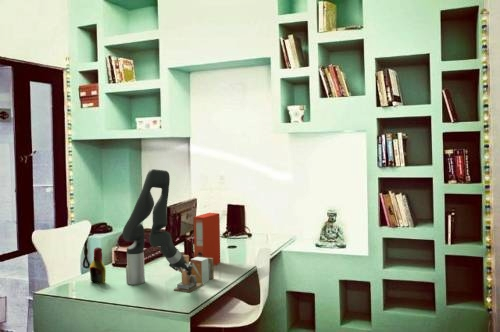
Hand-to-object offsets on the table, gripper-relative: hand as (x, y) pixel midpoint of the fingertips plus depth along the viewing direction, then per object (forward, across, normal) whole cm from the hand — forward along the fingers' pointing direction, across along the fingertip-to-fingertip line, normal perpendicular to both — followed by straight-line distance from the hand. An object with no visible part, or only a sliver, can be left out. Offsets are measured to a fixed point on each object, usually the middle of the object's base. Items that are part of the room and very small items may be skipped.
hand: (187, 273), depth 256 cm
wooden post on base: (+4, 0, +5) cm, 7 cm away
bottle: (0, +54, +12) cm, 55 cm away
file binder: (+37, +12, -25) cm, 46 cm away
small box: (+15, 0, -3) cm, 15 cm away
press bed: (+11, 0, +1) cm, 11 cm away
